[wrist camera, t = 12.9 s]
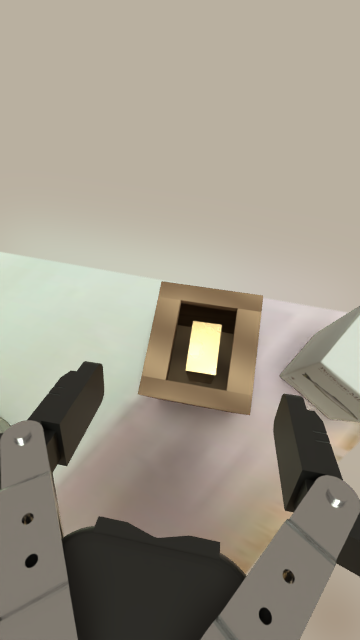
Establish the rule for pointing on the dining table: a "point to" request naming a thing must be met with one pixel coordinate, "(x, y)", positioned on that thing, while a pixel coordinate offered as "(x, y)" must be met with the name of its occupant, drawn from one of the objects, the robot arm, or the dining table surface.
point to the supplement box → (331, 369)
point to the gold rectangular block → (203, 352)
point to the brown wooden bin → (174, 339)
